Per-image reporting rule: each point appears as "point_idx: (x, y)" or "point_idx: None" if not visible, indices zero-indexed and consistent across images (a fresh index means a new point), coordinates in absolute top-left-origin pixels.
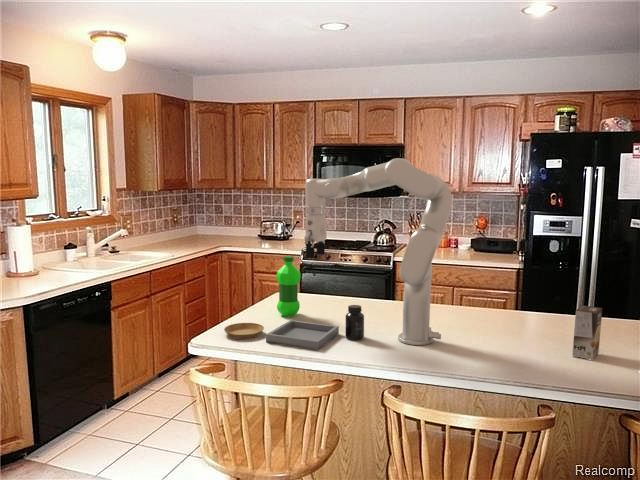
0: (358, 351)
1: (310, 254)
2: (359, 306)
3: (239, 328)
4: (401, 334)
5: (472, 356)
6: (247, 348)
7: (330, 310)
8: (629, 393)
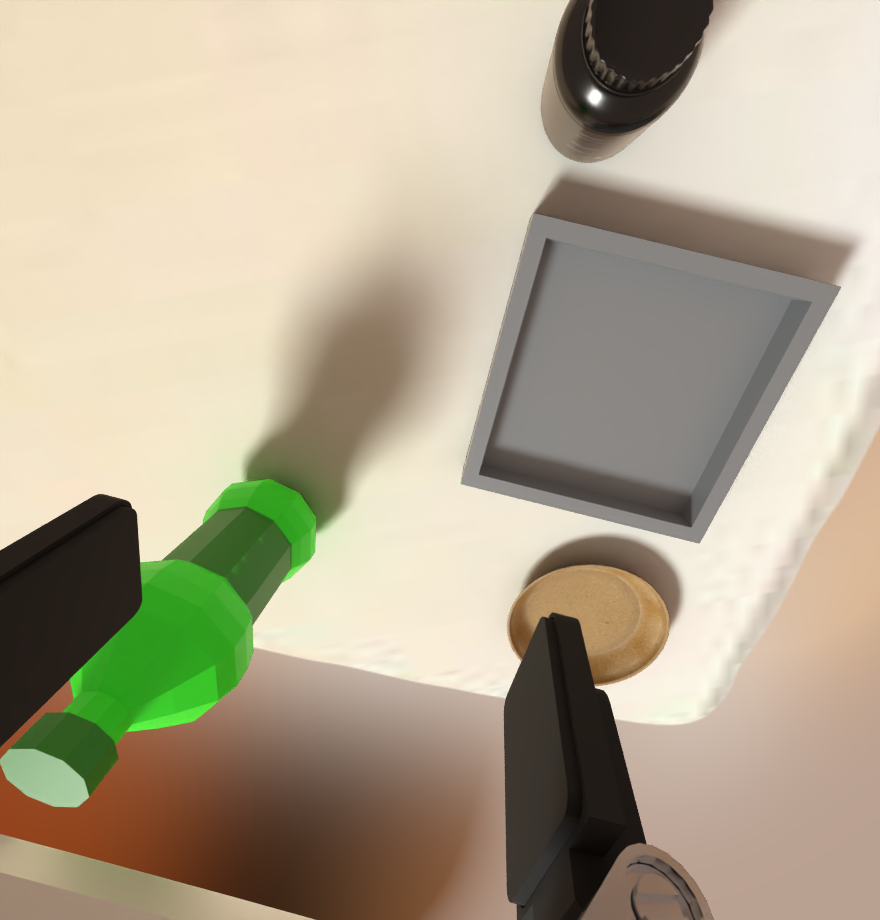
0: (851, 30)
1: (608, 715)
2: None
3: (530, 640)
4: None
5: None
6: (760, 571)
7: (128, 335)
8: None
